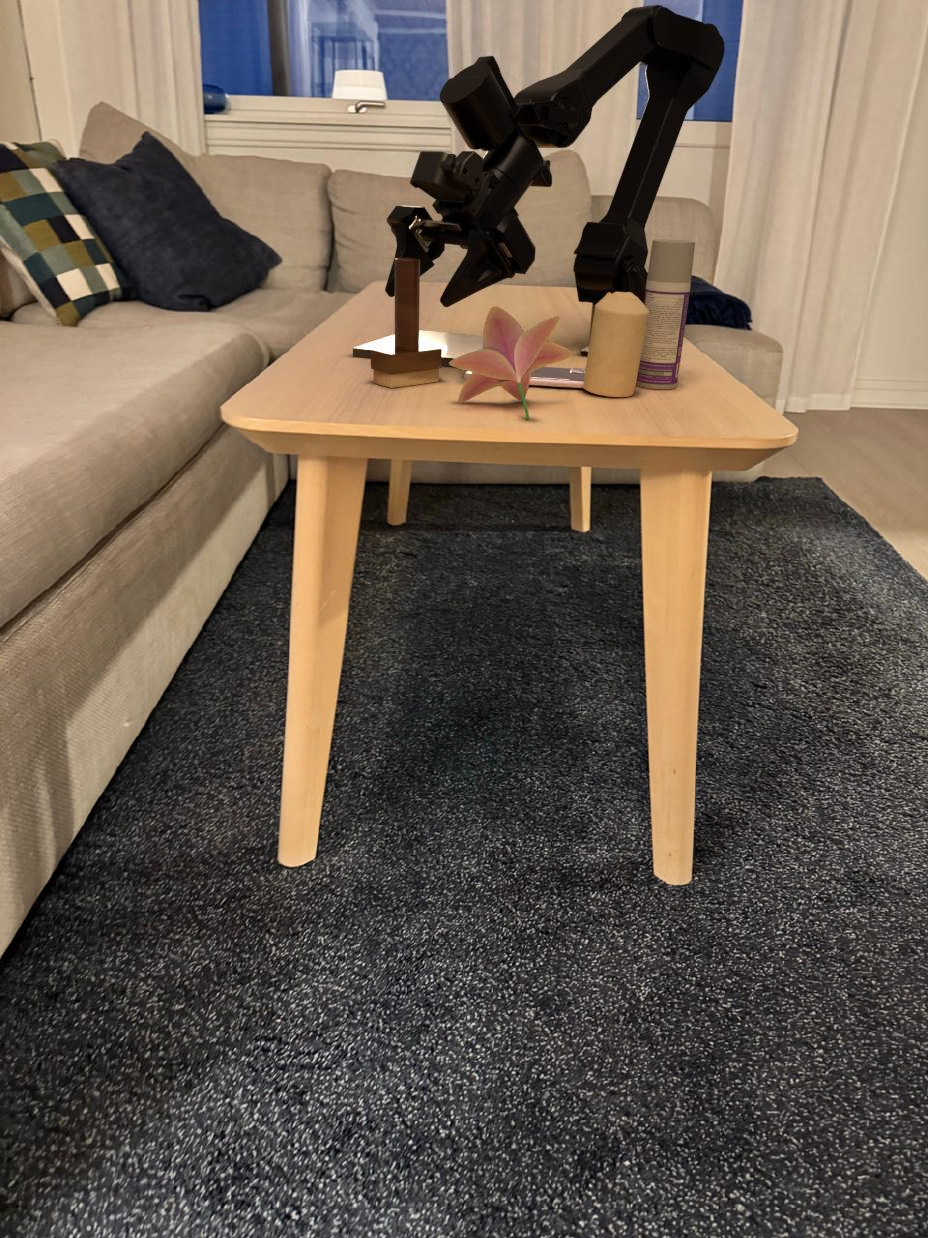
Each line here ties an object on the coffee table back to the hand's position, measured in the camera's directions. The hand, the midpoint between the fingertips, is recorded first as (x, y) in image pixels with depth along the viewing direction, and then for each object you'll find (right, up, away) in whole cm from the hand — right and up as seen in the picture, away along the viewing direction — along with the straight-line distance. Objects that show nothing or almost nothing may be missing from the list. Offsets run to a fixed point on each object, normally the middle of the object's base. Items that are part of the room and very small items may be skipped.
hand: (414, 298), depth 95 cm
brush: (-1, -8, +3) cm, 9 cm away
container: (+27, -8, +7) cm, 29 cm away
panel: (+2, +1, +21) cm, 22 cm away
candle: (+21, -9, +2) cm, 23 cm away
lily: (+10, -13, -7) cm, 18 cm away
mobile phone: (+13, -7, +6) cm, 16 cm away
